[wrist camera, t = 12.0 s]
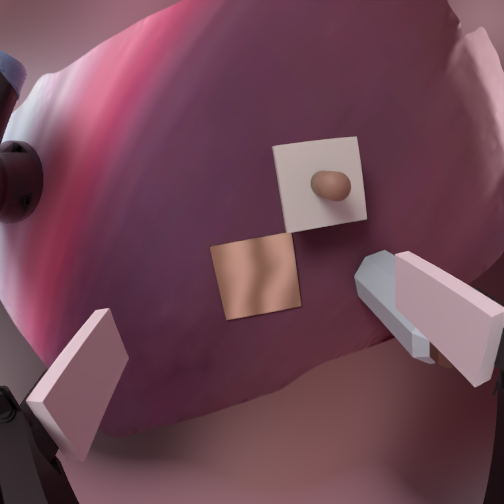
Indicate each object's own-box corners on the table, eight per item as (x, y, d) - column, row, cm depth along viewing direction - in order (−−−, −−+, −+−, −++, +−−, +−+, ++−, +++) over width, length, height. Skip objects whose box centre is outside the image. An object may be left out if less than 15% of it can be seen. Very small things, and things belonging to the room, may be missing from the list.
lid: (285, 231, 44) (295, 243, 38) (272, 146, 41) (280, 142, 34) (363, 217, 45) (385, 227, 38) (353, 137, 41) (374, 133, 34)
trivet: (226, 318, 54) (226, 320, 53) (210, 246, 50) (210, 247, 49) (300, 304, 54) (301, 306, 53) (290, 231, 50) (291, 232, 50)
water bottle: (408, 276, 54) (493, 339, 30) (368, 310, 55) (438, 392, 31) (383, 236, 51) (476, 288, 27) (340, 273, 53) (412, 350, 29)
